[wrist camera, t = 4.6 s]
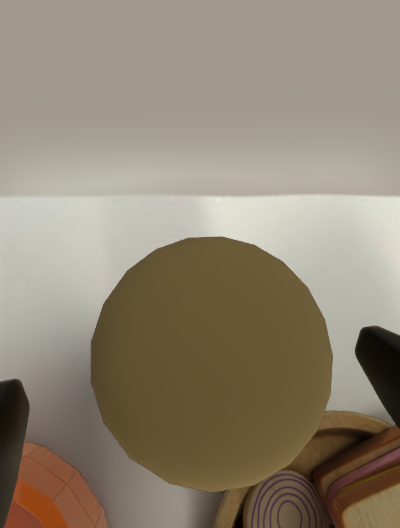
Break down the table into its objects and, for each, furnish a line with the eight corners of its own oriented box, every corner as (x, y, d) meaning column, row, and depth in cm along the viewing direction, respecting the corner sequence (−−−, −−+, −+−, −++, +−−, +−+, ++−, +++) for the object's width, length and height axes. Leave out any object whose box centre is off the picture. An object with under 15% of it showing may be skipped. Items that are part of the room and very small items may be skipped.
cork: (132, 444, 14) (70, 641, 4) (109, 316, 16) (24, 220, 6) (253, 405, 16) (448, 480, 5) (221, 290, 17) (318, 173, 7)
